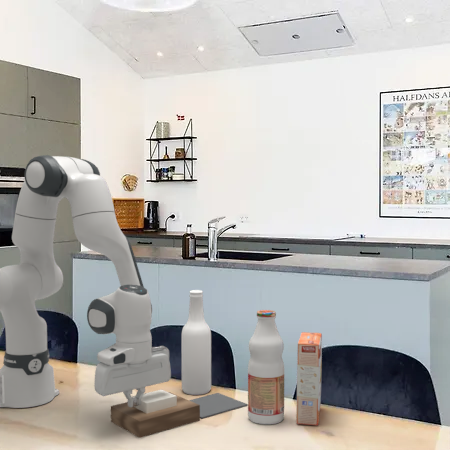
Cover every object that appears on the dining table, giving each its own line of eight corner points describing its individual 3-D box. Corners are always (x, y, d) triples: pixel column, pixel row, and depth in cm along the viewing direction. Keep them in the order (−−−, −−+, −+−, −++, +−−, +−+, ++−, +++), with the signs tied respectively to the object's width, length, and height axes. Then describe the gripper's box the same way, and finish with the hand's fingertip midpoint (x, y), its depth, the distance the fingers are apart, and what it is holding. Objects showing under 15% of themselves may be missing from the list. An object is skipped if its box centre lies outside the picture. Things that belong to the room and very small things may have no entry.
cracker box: (319, 426, 149) (320, 343, 148) (295, 425, 150) (295, 342, 149) (322, 408, 162) (322, 332, 162) (299, 406, 164) (300, 331, 163)
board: (110, 421, 152) (110, 406, 152) (169, 406, 164) (168, 391, 164) (139, 437, 142) (139, 421, 142) (199, 420, 153) (199, 405, 153)
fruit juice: (259, 427, 148) (259, 316, 147) (241, 415, 157) (241, 309, 156) (291, 421, 152) (291, 313, 151) (272, 410, 161) (272, 307, 160)
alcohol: (217, 391, 177) (217, 291, 176) (194, 397, 171) (193, 293, 170) (198, 384, 184) (198, 287, 183) (175, 390, 178) (175, 290, 177)
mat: (172, 405, 164) (172, 404, 164) (217, 394, 174) (217, 392, 174) (201, 418, 154) (201, 417, 154) (247, 405, 164) (247, 404, 164)
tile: (132, 406, 152) (132, 396, 152) (161, 398, 158) (161, 389, 158) (146, 413, 147) (146, 403, 147) (176, 405, 153) (176, 396, 152)
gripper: (162, 342, 157) (162, 394, 158) (91, 354, 144) (91, 411, 145) (175, 346, 152) (175, 400, 153) (103, 360, 139) (104, 418, 140)
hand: (134, 405), depth 148 cm, fingers closed
